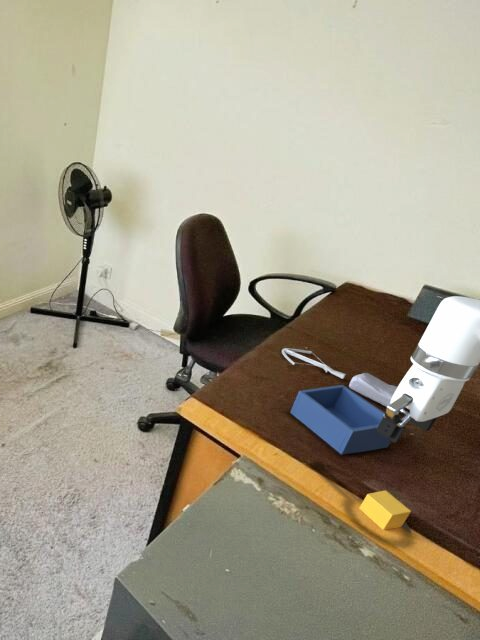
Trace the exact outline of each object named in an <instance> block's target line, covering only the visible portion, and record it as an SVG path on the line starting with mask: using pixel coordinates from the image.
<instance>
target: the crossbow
mask: <svg viewBox="0 0 480 640" xmlns="http://www.w3.org/2000/svg"><path fill="white" fill-rule="evenodd" d="M300 353H303V354H309V355H311V354H313V355H314V356H315V357H316V359H318V360H319V361H320V362H319V361H317V360H315V359H311V358H310V357H306V356H304V355H302V354H300ZM281 354H282V355H283V357H284V358H285V359H286V360H287V361H288V362H289V363H290V364H291V365H293V366H295V364H296V362H294V361H293V360H292V359H291V358H290V357H289V356H292V357H294V358H297V359H299V360H302V361H304V362H306V366H307V365H309V366H310V365H312V366H313V367H314V366H315V367H318V368H320V369H323V370H324V371H325V373H328V372H329V373H330V374H332V375H334V376H336V377H338V378H340V379H342V380H344V379H345V377H346V375H347V374H346V373H343V372H341V371H337V370H334V369H333V368H332V367H330V366H328V365H327V364H325V363H324V362H323V361H322V360H321V359H320V358H319V357H318V356H316V354H315V353H313V351H311V350H305V349H298V348H289V347H288V348H286V347H285V348H282V350H281ZM288 355H289V356H288ZM309 363H310V364H309ZM298 364H300V365H303V363H301V362H300V363H299V362H298Z"/></svg>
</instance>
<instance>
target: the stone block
mask: <svg viewBox="0 0 480 640" xmlns="http://www.w3.org/2000/svg"><path fill="white" fill-rule="evenodd" d="M348 387H349V389H350V390H351V391H353V392H355V393H357V394H360V395H362V396H364V397H366V398H367V399H370V400H372V401H374V402H376V403H378V404H381V405H382V406H384V407H385V408H387V406H389V405H390V401H391V399H392V396H393V394H394V393H395V391H396V389H397V387H398V386H396V385H391V384H388V383H387V382H385V381H383V380H381V379H380V378H378V377H376V376H374V375H372V374H370V373H368V372H362V373H361V374H356V375H354V376H353V377H352V378H351V379H350V382H349V385H348ZM403 409H404V410H405V409H406V408H403Z"/></svg>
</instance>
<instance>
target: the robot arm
mask: <svg viewBox="0 0 480 640" xmlns="http://www.w3.org/2000/svg"><path fill="white" fill-rule="evenodd" d="M410 361H411V363H412V365H411V366H410V367H409V369H408V371H407V372H406V374H405V375H404V376H403V378H402V380H401V381H400V382H399V384H398V386H396V387H397V389H396V391H395V393H394V394H393V396H392V399H391V401H390V405H389V406H387V407H385V408H386V409H385V411H384V413H385V414H384V415H383V418H382V420H381V422H380V424H379V426H378V428H377V429H376V431H377V432H378V433H379V434H381V435H383V436H384V437H386V438H387V439H389V440H390V441H391V442H392V443H398V442H399V440H400V439H401V436H402V435H403V433H404V432H405V430H406V426H405V425H406V424H407V423H408V422H410V423H411V424H413V425H414V426H417V427H418V428H420V429H422V430H423V431H425V432H429V431H431V430H432V428H433V426H434V425H435V423H436V421H437V420H438V418H440V417H441V416H444V415H446V414H449V412H451V410H452V409H453V407H454V405H455V404H456V401H457V399H458V398H459V396H460V393H461V392H462V390H463V388H464V385H465V384H466V382H467V381H470V379H471V378H472V376H473V374H474V373H475V371H476V369H477V368H478V367H479V365H480V299H477V298H474V297H469V296H460V295H452V296H448V297H445V298H443V299H442V300H441V301H440V303H439V305H438V306H437V307H436V310H435V312H434V314H433V316H432V317H431V319H430V321H429V323H428V325H427V327H426V329H425V331H424V333H423V334H422V335H421V338H420V340H419V342H418V344H417V345H416V346H415V349H414V351H413V353H412V354H411V356H410ZM403 408H405V409H407V410H409V411H407V410H405V409H403ZM399 413H401V414H403V415H404V416H403V417H402V418H401V416H399Z"/></svg>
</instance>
